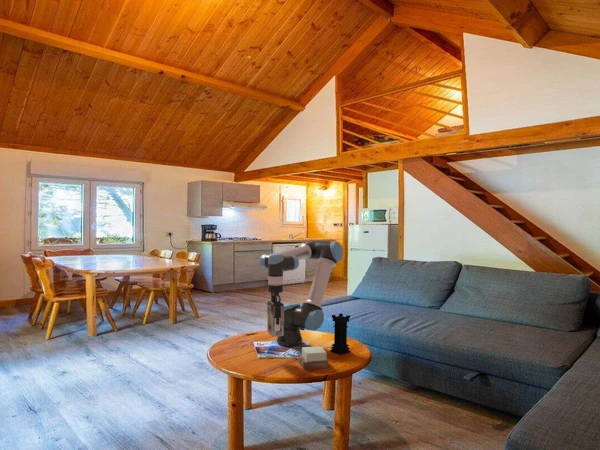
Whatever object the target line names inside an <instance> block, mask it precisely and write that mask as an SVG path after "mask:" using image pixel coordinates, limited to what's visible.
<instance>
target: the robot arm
mask: <svg viewBox="0 0 600 450" xmlns="http://www.w3.org/2000/svg"><path fill="white" fill-rule="evenodd" d="M343 249H344V248H343V246H342V245H341V243H340V242H338V241H334V240H331V241H329V240H328V241H326V240H313V241H309V242H305V243H302V244H300V246H299V247H294V248H290V249H287V250H283V251H279V252H275V253H270V254H268V253H266V254H262V255H261V256H260V258H259V265H260V267H261V268H263V269H268V276H267V278H266V279H267V280H268V282H267V283H268V286H267V287H268V288H267V292H269V293H270V301H271V302H273V304H275V308H276V309H275V317H274V318H275V331H280V318H281V303H282V302H281V300H282V299H281V296H280V294H281V293H283V291H284V285H283V284H284V272H287V271H288V272H289V271H295V270H297V269H298V268H299V266H300V261H301V260H316V261H317V262H318V265H317V267H316V270H315V273H314V277H313V280H312V283H311V286H310V289H309V291H308V296H307V299H306V300H305V301H303V302H302V304H301V303H300V302H287V303H283V304H284V336H276V344H277V343H278V344H280V345H279V346H281V345H283V347H298V346H301V345H302V344H303V336H302V333H301V329H305V330H308V331H317V330H318V329H320V328H321V327H322V325H323V323H324V320H325V313H324V311H323V307H322V303H323V300H324V296H325V293H326V289H327V286H328V283H329V280H330V277H331V274H332V270H333V268H334V267H337V263H338V262H339V263H340V262H341V261H342V260H343V257H344V250H343ZM280 302H281V303H280ZM278 344H277V345H278Z"/></svg>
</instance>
